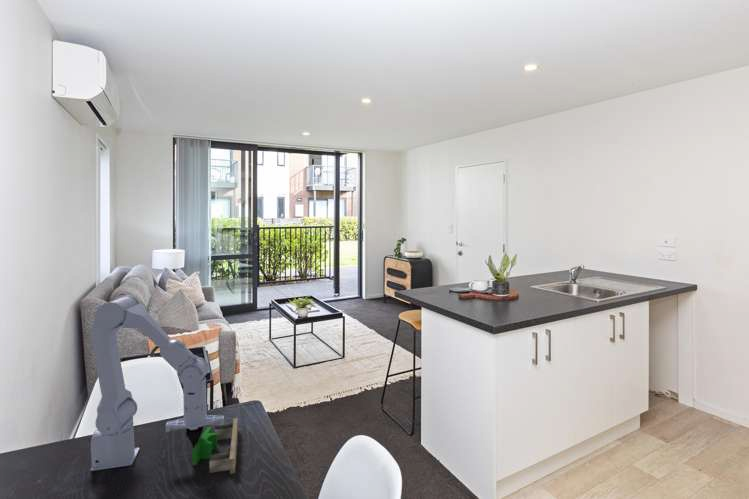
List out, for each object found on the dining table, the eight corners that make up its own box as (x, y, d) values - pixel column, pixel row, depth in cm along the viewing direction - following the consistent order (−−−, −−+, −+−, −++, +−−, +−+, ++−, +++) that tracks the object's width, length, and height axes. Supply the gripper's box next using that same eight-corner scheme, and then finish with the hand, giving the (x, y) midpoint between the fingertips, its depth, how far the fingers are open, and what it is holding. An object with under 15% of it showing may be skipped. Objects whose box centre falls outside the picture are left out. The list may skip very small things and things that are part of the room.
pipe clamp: (206, 466, 108) (206, 449, 108) (192, 465, 108) (192, 449, 108) (220, 442, 119) (220, 427, 119) (207, 441, 119) (207, 426, 119)
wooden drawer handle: (208, 477, 103) (208, 461, 103) (216, 433, 124) (216, 420, 124) (234, 473, 105) (234, 457, 104) (238, 430, 126) (237, 417, 125)
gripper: (162, 414, 105) (163, 464, 106) (222, 407, 109) (223, 456, 111) (168, 402, 112) (169, 450, 113) (224, 396, 116) (225, 442, 117)
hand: (196, 452), depth 112 cm, fingers closed, pressing on pipe clamp
